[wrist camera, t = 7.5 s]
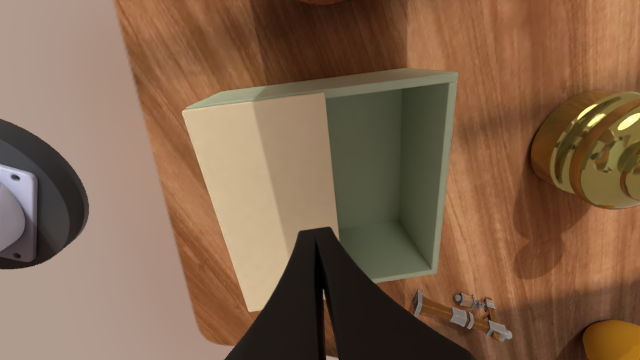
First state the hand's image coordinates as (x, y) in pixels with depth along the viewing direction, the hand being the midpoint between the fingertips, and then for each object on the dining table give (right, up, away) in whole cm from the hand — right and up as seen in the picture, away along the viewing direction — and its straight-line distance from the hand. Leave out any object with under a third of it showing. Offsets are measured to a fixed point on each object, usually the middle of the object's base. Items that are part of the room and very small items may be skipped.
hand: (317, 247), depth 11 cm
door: (-2, +1, +2) cm, 3 cm away
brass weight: (+20, +6, +9) cm, 22 cm away
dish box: (0, +4, +8) cm, 9 cm away
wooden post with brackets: (+13, -8, +15) cm, 21 cm away
